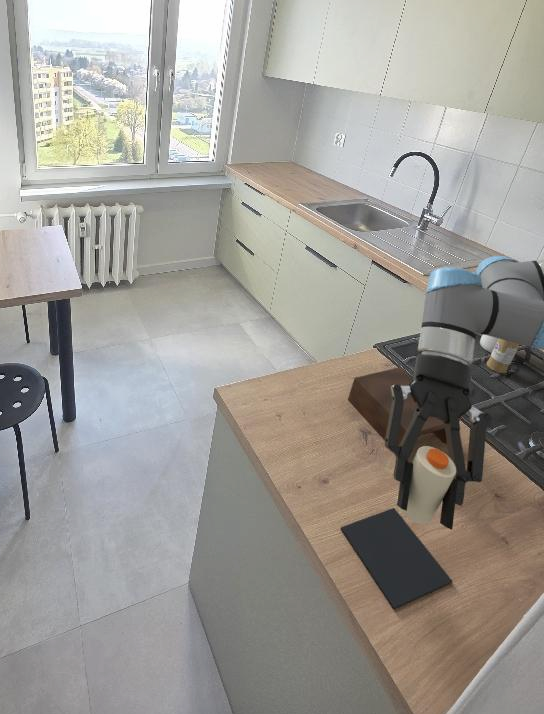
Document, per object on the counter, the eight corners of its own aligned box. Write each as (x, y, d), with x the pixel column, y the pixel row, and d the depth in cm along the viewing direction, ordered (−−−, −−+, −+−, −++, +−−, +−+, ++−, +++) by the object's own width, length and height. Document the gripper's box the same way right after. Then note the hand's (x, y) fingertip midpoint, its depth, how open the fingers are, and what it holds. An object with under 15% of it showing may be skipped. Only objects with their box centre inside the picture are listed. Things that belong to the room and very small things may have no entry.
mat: (451, 583, 67) (452, 581, 67) (393, 609, 64) (394, 608, 63) (393, 509, 78) (394, 507, 77) (340, 528, 74) (340, 527, 74)
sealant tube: (440, 519, 64) (467, 467, 59) (415, 529, 63) (440, 476, 58) (413, 488, 69) (436, 437, 64) (389, 497, 67) (411, 445, 62)
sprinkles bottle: (482, 361, 116) (500, 321, 111) (500, 363, 116) (519, 324, 110) (492, 373, 112) (511, 332, 106) (510, 375, 111) (530, 335, 106)
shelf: (450, 441, 92) (460, 418, 89) (400, 457, 87) (410, 434, 85) (392, 387, 105) (400, 366, 103) (347, 399, 101) (354, 377, 98)
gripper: (500, 380, 68) (486, 540, 61) (378, 345, 75) (353, 485, 68) (522, 377, 61) (510, 556, 54) (387, 339, 68) (360, 493, 61)
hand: (423, 516), depth 61 cm, fingers closed on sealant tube, 5 cm apart
